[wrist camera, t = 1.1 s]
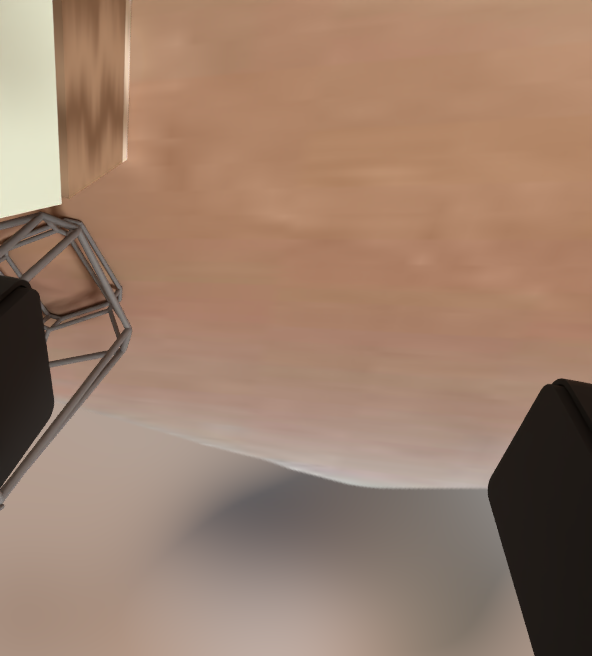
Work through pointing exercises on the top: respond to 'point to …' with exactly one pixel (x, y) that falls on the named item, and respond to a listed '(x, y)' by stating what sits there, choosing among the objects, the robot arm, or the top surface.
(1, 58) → the lid
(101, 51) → the walnut box
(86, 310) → the geometric lantern
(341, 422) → the top surface
